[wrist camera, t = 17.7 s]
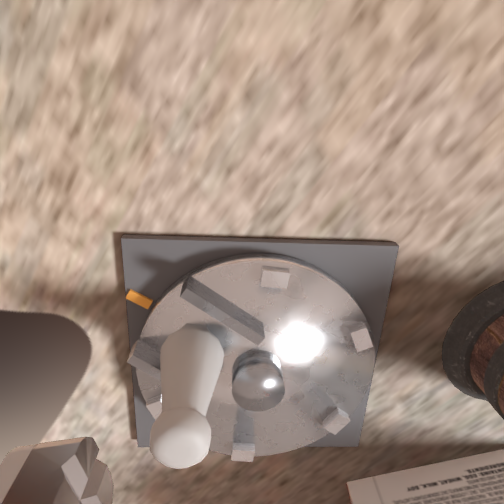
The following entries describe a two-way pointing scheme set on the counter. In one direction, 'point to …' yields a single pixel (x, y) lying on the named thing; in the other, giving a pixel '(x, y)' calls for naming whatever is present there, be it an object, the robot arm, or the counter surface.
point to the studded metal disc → (266, 351)
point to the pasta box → (437, 483)
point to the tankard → (478, 348)
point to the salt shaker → (186, 396)
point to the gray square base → (213, 248)
